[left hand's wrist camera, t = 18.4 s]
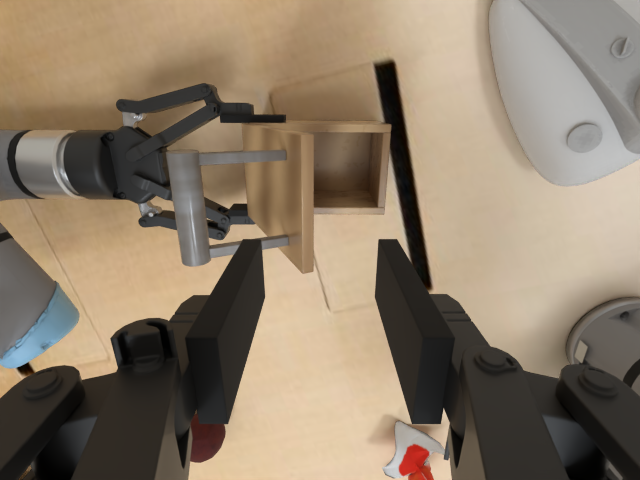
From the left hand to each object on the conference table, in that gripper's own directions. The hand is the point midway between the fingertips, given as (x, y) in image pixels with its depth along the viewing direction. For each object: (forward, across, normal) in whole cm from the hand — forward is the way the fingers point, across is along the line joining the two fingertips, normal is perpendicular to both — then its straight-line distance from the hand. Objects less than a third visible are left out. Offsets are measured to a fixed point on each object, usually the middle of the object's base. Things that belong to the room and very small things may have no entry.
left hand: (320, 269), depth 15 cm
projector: (+32, -28, -10) cm, 44 cm away
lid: (+16, +4, 0) cm, 16 cm away
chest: (+32, 0, 0) cm, 32 cm away
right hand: (+26, +4, 0) cm, 26 cm away
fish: (+32, -16, +51) cm, 63 cm away
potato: (+32, +20, +44) cm, 58 cm away
